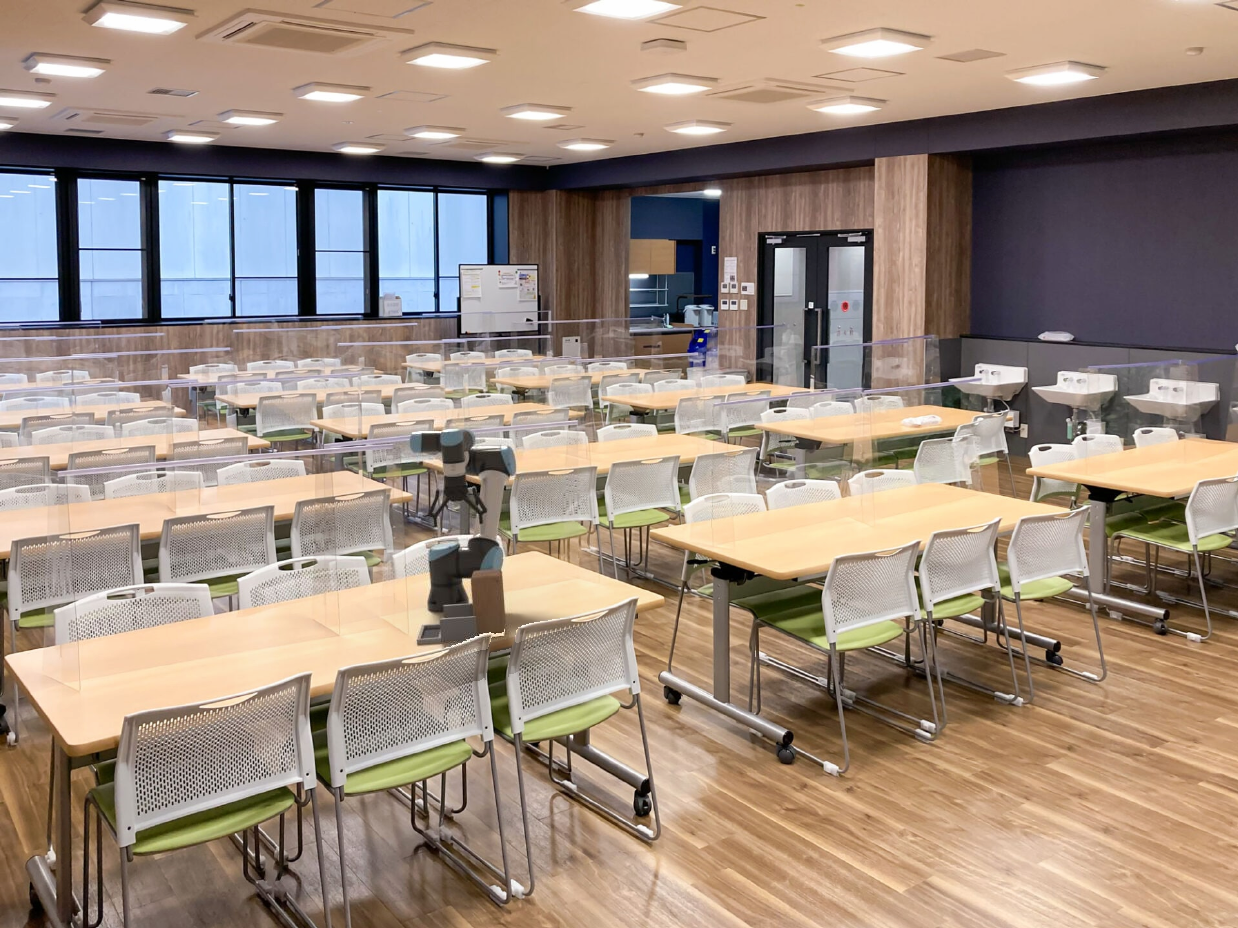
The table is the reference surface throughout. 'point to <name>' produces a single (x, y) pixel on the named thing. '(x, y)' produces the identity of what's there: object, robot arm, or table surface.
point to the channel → (458, 623)
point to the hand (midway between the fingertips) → (459, 534)
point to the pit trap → (429, 634)
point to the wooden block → (488, 601)
